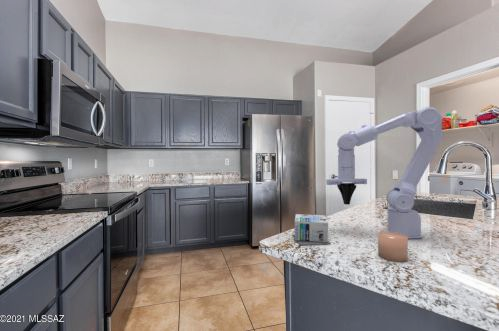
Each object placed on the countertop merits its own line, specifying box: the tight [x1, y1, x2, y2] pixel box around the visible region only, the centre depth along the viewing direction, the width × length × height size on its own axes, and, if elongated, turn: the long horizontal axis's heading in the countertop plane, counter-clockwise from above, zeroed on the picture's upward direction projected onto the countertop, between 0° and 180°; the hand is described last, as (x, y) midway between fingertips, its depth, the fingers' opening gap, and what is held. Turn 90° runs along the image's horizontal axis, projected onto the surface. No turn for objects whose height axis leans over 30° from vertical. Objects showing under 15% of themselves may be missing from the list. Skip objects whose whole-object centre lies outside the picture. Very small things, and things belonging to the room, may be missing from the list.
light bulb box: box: [293, 213, 329, 242], centre depth 84 cm, size 11×7×11 cm
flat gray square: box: [291, 234, 331, 247], centre depth 81 cm, size 10×10×1 cm
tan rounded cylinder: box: [377, 231, 409, 263], centre depth 67 cm, size 7×7×6 cm
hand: (346, 204), depth 89 cm, fingers closed
